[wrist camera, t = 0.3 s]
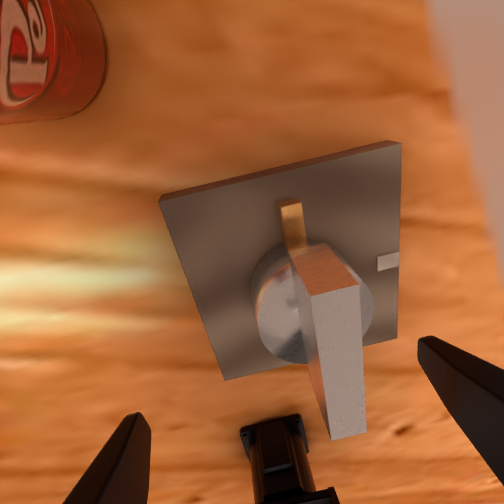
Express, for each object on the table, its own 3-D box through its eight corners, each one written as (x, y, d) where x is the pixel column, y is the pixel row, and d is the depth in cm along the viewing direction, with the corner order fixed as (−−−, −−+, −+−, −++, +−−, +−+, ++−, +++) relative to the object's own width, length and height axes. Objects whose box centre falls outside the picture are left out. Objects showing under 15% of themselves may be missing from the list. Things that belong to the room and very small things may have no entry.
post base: (387, 326, 27) (398, 339, 25) (224, 366, 26) (224, 382, 25) (388, 140, 19) (403, 143, 18) (162, 195, 19) (157, 202, 18)
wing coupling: (350, 325, 24) (410, 421, 16) (264, 346, 23) (287, 452, 16) (340, 184, 18) (422, 235, 11) (229, 211, 18) (240, 280, 11)
